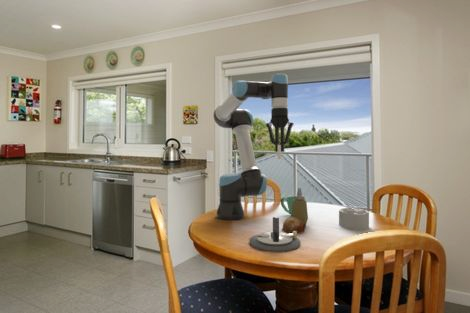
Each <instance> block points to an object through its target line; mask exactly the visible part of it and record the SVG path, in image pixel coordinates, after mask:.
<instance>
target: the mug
mask: <svg viewBox="0 0 470 313" xmlns="http://www.w3.org/2000/svg"><path fill="white" fill-rule="evenodd" d="M284 200H285V201H286V204H287V206H286V205H285V203H284V202H285V201H284ZM293 200H295V196H287V197H285V196H283V197H282V198H280V206H281V207H282V209H283V210H284V211H285V213H287V214H289V215H290V216H291V213H292V203H293ZM304 200H306V198H305V197H304Z"/></svg>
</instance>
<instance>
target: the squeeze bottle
mask: <svg viewBox="0 0 470 313" xmlns="http://www.w3.org/2000/svg"><path fill="white" fill-rule="evenodd" d="M296 192H297V193H296V194H295V195H294V197H295V200H293V203H292V213H291V215H290V217H295V218H298V219H300V220H301V221H302V222H303V223H304V224H305V226H306V225H307V222H308V220H309V215H308V205H307V200H306V199H305V200H304V198H305V195H303V194H302V193H303V192H302V188H301V187H298V188H297V191H296Z"/></svg>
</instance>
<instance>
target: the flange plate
mask: <svg viewBox="0 0 470 313" xmlns="http://www.w3.org/2000/svg"><path fill="white" fill-rule="evenodd" d="M256 235H257V241H258V242H260V243H262V244H265V245H272V246H280V245H287V244H290V243H291V242H292V238H293V233H286V232H283V231H282V232H281V231H280V216H273V217H272V231H266V232H264V231H263V232H261V233H259V234H256Z"/></svg>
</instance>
